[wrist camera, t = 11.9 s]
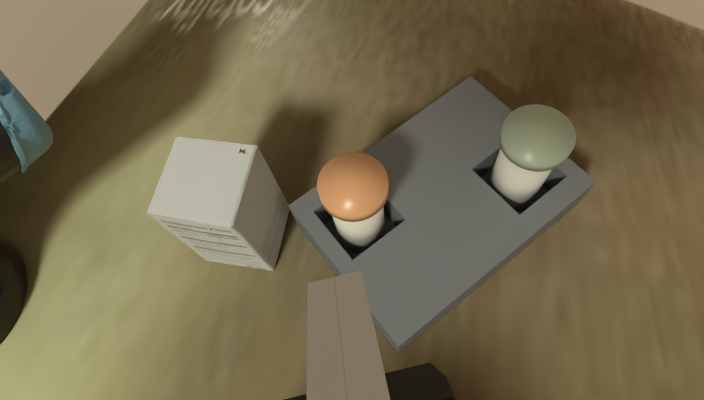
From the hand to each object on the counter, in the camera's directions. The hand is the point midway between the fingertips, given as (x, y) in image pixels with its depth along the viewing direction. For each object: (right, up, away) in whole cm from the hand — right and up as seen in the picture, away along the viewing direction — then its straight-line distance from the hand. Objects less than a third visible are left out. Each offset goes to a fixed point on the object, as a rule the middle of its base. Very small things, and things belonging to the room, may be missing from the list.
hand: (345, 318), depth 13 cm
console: (+9, +2, +33) cm, 34 cm away
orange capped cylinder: (+1, 0, +32) cm, 32 cm away
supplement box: (-10, 0, +35) cm, 36 cm away
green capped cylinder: (+16, +4, +32) cm, 36 cm away
